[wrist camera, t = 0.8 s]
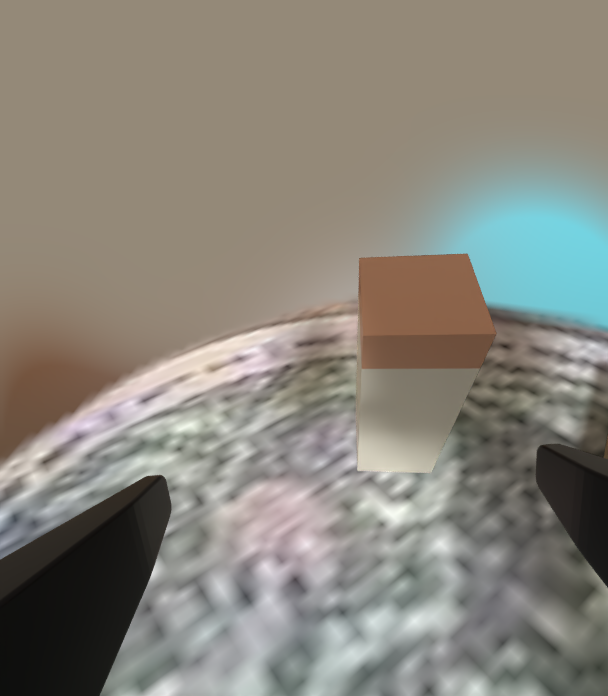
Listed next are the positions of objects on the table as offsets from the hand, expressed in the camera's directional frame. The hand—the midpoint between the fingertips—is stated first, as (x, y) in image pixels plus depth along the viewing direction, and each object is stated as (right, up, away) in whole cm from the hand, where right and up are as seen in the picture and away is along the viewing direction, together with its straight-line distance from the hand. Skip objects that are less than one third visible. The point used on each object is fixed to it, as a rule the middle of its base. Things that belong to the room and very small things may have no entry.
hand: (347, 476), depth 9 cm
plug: (+5, -3, +15) cm, 16 cm away
